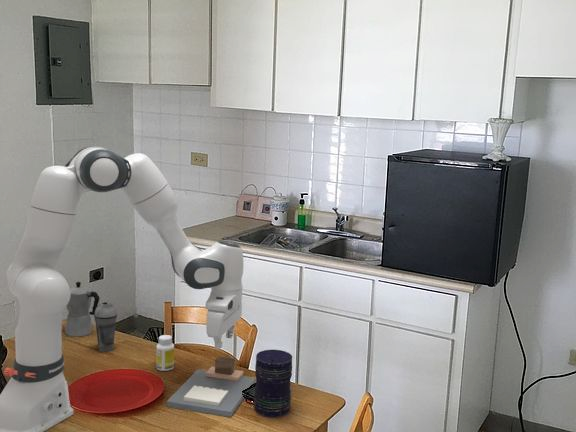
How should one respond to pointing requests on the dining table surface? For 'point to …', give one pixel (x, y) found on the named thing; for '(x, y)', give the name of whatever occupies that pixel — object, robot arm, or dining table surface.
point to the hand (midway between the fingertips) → (224, 342)
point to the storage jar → (273, 383)
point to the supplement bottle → (165, 353)
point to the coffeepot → (80, 311)
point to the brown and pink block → (224, 369)
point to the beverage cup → (105, 325)
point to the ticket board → (210, 394)
